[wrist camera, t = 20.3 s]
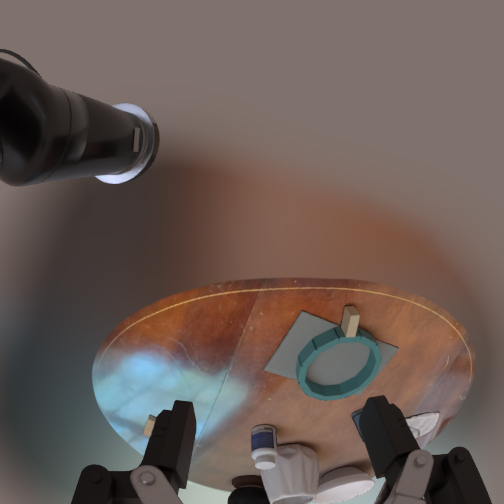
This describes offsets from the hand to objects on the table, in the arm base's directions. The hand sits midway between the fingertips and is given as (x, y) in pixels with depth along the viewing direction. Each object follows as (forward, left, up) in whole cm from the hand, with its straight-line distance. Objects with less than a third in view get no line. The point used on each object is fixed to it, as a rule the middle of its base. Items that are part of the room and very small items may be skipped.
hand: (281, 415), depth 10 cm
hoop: (+20, -11, -28) cm, 36 cm away
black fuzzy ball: (+30, -67, -28) cm, 79 cm away
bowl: (+55, -55, -28) cm, 83 cm away
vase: (+30, -45, -28) cm, 61 cm away
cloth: (+61, -30, -28) cm, 73 cm away
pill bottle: (+19, -37, -28) cm, 50 cm away
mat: (+21, -13, -28) cm, 37 cm away
